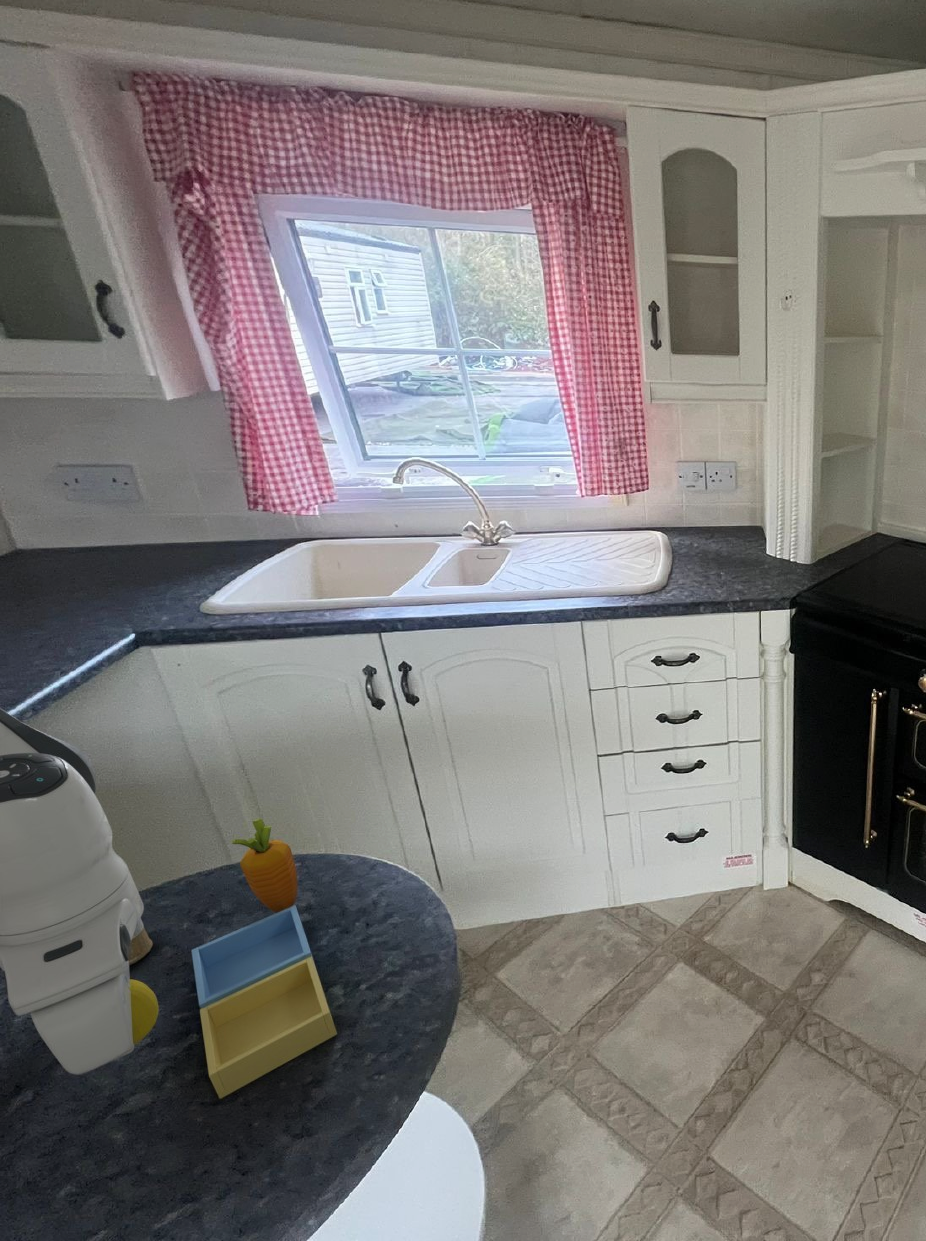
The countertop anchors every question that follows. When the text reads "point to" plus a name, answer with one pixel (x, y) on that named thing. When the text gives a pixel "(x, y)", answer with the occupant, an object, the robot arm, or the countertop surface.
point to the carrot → (269, 869)
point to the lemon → (142, 1009)
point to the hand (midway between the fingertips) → (121, 1026)
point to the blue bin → (249, 955)
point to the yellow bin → (265, 1026)
